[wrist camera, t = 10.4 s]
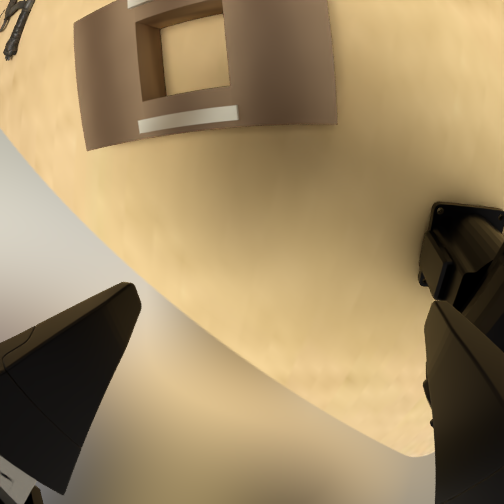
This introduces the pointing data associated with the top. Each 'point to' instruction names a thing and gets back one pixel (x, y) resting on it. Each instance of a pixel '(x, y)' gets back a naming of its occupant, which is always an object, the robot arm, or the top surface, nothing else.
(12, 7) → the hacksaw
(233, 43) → the socket block
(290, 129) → the top surface
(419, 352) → the top surface
